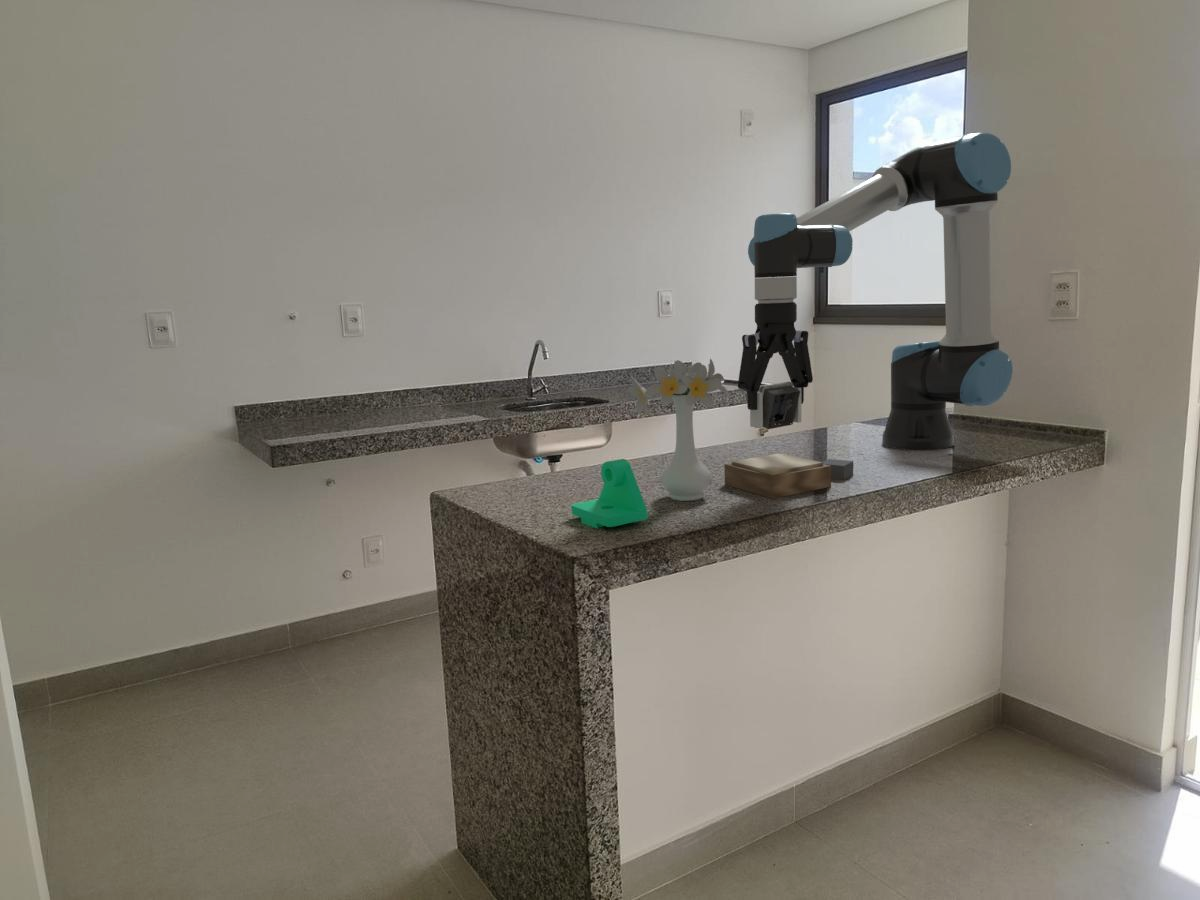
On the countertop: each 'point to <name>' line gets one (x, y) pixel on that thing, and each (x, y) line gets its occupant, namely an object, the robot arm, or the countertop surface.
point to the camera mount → (614, 498)
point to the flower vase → (683, 423)
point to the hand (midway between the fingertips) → (776, 424)
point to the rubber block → (840, 468)
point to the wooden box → (777, 475)
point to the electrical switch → (779, 404)
